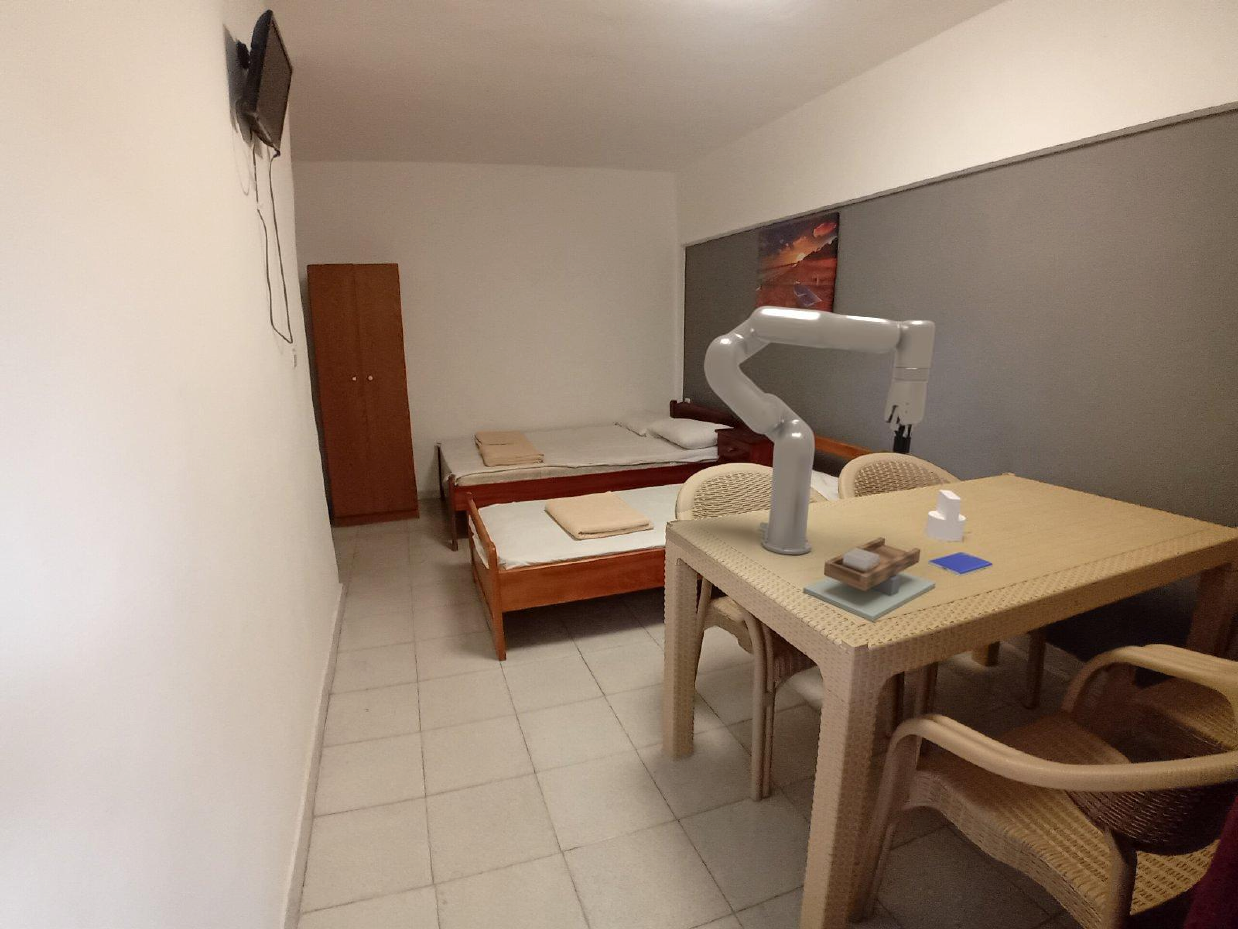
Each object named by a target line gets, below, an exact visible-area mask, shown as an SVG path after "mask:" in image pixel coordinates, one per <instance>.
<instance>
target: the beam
mask: <svg viewBox="0 0 1238 929" xmlns="http://www.w3.org/2000/svg"><path fill="white" fill-rule="evenodd" d="M856 548H859V549H862V550H865V551H868V552H871V553H874V554H877V555H879V561H878V567H876V568H874V569H872V570H870V571H868V572H866V573H864V574H862V573H859V572H857V571H854V570H851V569H849V568H846V567H843V557H844V554H845V553H847V552H849V551H850V550H849V551H847V552H845V553H842V554H840V555H837V556H836V557H834V558H831V559H829V560H827V561H824V569H823V576H825V577H830V578H833V579H835V580H838V581H840V582H843V583H846V584H848V585H851V586H853V587H856V588H858V589H861V590H863V591H866V590H867V589H869V588H871V587H873V586H875V585H877V584H879V583H881V582H882V581H884V580H886V579H888V578H890V577H892V576H894V575H896V574H897V573H899V572H901V571H902V572H904V570H906V569H908V568H910V567H913V566H914V565H916V564H918V563H920V556H921V549H920V548H917V547H915V548H914V547H913V548H912V549H910V550H908V551H906V550H902V549H899V548H896V547H894V546H891V545H887V544H886V538H885V537H880V536H879V537H877V538H875V539H873V540H871V541H868V542H866V543H864V544H862V545H860V546H857V547H856Z"/></svg>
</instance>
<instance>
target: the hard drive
mask: <svg viewBox="0 0 1238 929" xmlns="http://www.w3.org/2000/svg"><path fill="white" fill-rule="evenodd" d="M928 565H931V566H933V565H934V567H936V568H938V569H941V568H942V569H941V570H943V569H944V570H943V571H946V572H949V573H951V574H953V573H954V574H953V575H956V576H958V575H959V576H958V577H962V575H963V576H966V575H969V573H970V574H972V572H973V573H976V572H980V571H982V570H981V569H983V568H986V569H989V568H988V567H990V566H992V567H993V563H992V562H991V561H988V560H986V559H982V558H980V557H977V556H973V555H972V554H968V553H966V552H963V551H961V552H956V553H953V554H949V555H945V556H942V557H938V558H935V559H934V558H933V559H932V560H928ZM990 568H991V567H990ZM979 570H980V571H979ZM983 570H984V569H983Z"/></svg>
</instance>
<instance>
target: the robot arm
mask: <svg viewBox="0 0 1238 929" xmlns="http://www.w3.org/2000/svg"><path fill="white" fill-rule="evenodd" d="M935 332H936V324H935V322H933V321H931V320H926V319H925V320H923V319H921V320H920V319H916V320H915V319H908V320H904V321H896V320H892V319H889V318H878V317H867V316H865V317H864V316H857V315H847V314H839V313H835V312H834V313H833V312H830V311H823V310H818V309H817V310H816V309H806V308H795V307H784V306H774V305H773V306H772V305H764V306H763V305H762V306H759V307H757V308H756V309H755V310H754V311H753V312H752V313H751V315H750V317H749V318H747V319H746V320H744V321H743V322H742V323H740V324H739V325H737V326H736V327H735V328H734V329H732V330H731V331H729V332H727V333H726V334H724V335H723V334H722V335H719V336H718V337H716V338H715V339H713V340H712V342H711V343H710V344H709V346H708V348H707V350H706V352H705V358H704V362H703V363H704V364H703V368H704V375H705V378H706V382H707V383H708V385H709V387H710V388H711V389H712V391H713V392H714V393H715V394H716V395H717V397H719V398H720V399H721V400H722V402H724V403H725V404H726V405H727V407H729V408H730V409H731V410H732V412H734V414H736V416H738V417H739V418H740V419H741V420H742V421H743V422H744V424H745V425H746V426H748V427H749V429H750V430H752V431H753V432H755V433H757V434H761V435H765V436H766V437H768V438H767V439H769V440H770V441H771V442H773V443H774V446H773V452H772V453H773V457H772V458H773V459H772V473H771V488H770V490H771V491H770V501H769V502H770V503H769V504H770V506H769V515H768V516H769V517H768V522H765V521H760V522H759V525H758V527H757V531H758V532H762V533H764V535H763V537H762V538H761V542H760V543H761V546H762V547H763V548H765V549H767V550H768V551H770V552H773V553H777V554H782V555H791V556H793V555H794V556H796V555H804V554H806V553H809V552H810V551H811V550H812V543H811V542H810V540H808V539H806V537H807V529H808V527H807V526H808V516H809V506H810V497H811V496H810V495H811V484H812V474H813V465H814V460H815V458H814V456H815V449H816V448H815V447H816V446H815V444H816V443H815V442H816V441H815V435H814V432H813V429H811V427H810V426H809V424H807V422H805V421H804V420H803V419H802V417H800V416H799V415H798V414H797V413H796V412H794V411H793V409H791V408H790V407H789V405H787V404H786V403H785V402H784V401H783V400H782V399H781V398H779V397H778V396H776V395H775V394H772V393H769V392H768V393H765V392H764V391H763V390H762V389H761V388H760V387H758V386H757V384H755V383H754V382H753V380H752V379H751V378H749V377H748V376H747V375H745V374H744V372H743V371H742V370H741V368H740V364H742V363H744V362H745V361H746V360H748V358H750V357H752V356H753V355H755V354H756V353H758V352H759V351H761V350H762V349H763V348H765V347H766V346H767V345H769V344H770V343H773V344H774V343H776V344H783V345H795V346H799V347H801V346H802V347H808V348H809V347H811V348H818V349H836V350H837V349H838V350H844V351H845V350H847V351H853V352H854V351H855V352H865V353H872V354H873V353H874V354H886V353H889V352H891V351H895V355H894V356H895V357H894V364H893V370H892V379H891V380H892V381H891V384H890V386H889V389H888V394H887V398H886V403H885V409H884V410H885V411H884V415H883V416H884V417H883V418H884V419H883V421H884V422H885V423H886V424H890V425H889V430H891V431H893V437H894V438H893V446H892V452H893V453H896V454H901V455H906V454H909V453H910V448H911V440H912V437H913V435H914V434H913V433H914V429H915V428H916V427H918V425H919V423H920V422H922V421H923V419H924V414H925V410H926V398H927V383H928V382H929V378H930V377H929V376H930V370H931V364H932V354H933V348H934V347H933V346H934V341H935V335H936V334H935Z"/></svg>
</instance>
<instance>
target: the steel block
mask: <svg viewBox="0 0 1238 929" xmlns="http://www.w3.org/2000/svg"><path fill="white" fill-rule="evenodd" d="M843 554H844V553H843ZM878 561H879V555H877V554H874V553H871V552H868V551H865V550H862V549H859V548H857V547H855V548H853V549H851V550H849V552H848V551H847V553H846V552H845V554H844V557H843V567H846V568H849V569H851V570H854V571H857V572H859V573H862V574H864V573H866V572H868V571H870V570H872V569H874V568H876V567H878Z"/></svg>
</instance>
